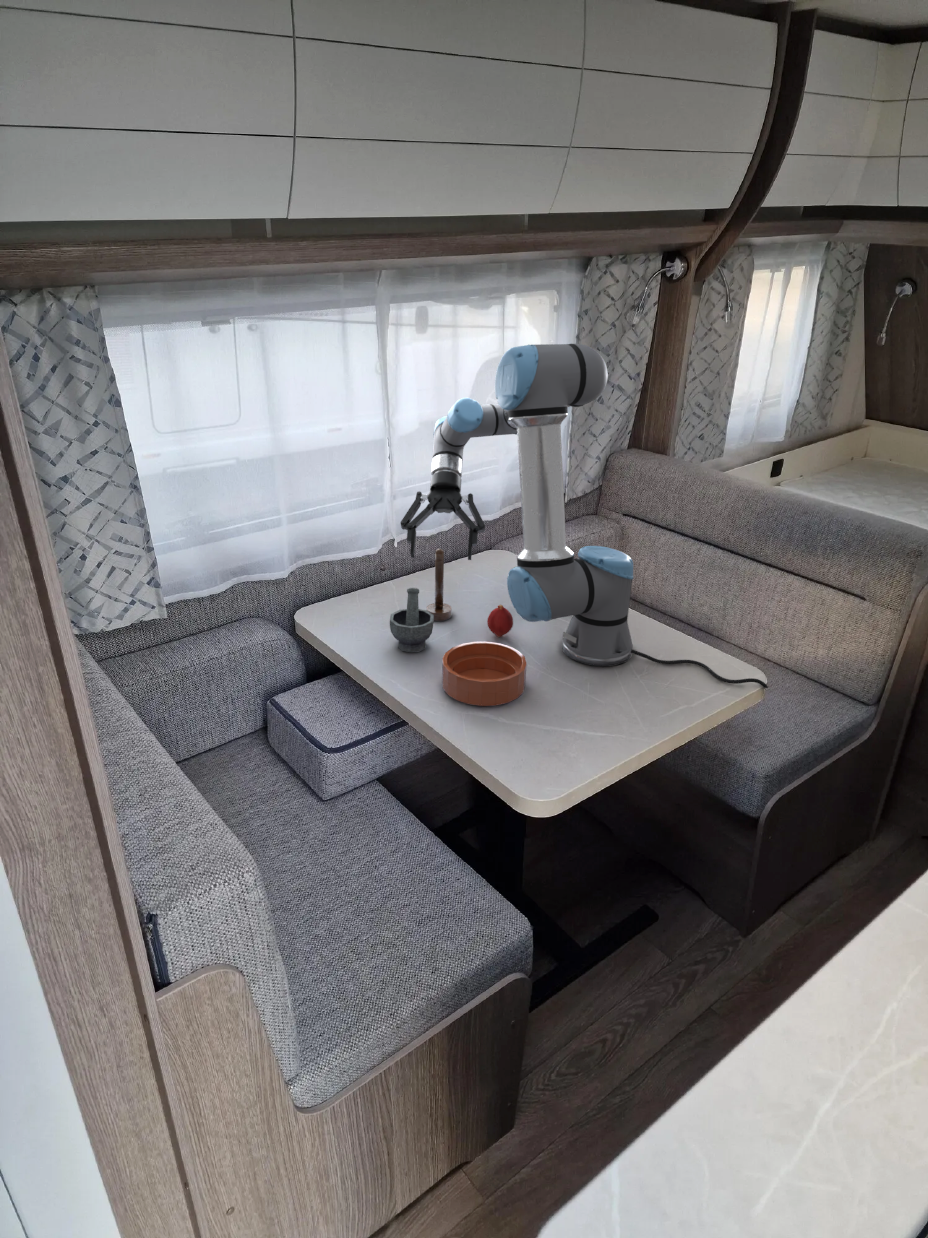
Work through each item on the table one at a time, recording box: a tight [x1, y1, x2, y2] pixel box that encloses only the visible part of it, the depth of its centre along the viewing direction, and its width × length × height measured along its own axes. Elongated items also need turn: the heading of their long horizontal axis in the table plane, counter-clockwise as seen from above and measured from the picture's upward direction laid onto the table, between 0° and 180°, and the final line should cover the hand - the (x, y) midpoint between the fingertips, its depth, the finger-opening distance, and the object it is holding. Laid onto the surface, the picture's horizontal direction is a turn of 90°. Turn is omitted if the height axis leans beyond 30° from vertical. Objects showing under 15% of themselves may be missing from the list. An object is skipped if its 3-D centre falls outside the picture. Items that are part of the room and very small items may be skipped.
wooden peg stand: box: [425, 547, 453, 622], centre depth 191 cm, size 6×6×17 cm
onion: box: [486, 604, 514, 638], centre depth 183 cm, size 6×6×8 cm
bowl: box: [441, 641, 528, 707], centre depth 163 cm, size 17×17×6 cm
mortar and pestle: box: [389, 587, 435, 653], centre depth 178 cm, size 11×9×12 cm
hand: (440, 556), depth 193 cm, fingers open, 13 cm apart
